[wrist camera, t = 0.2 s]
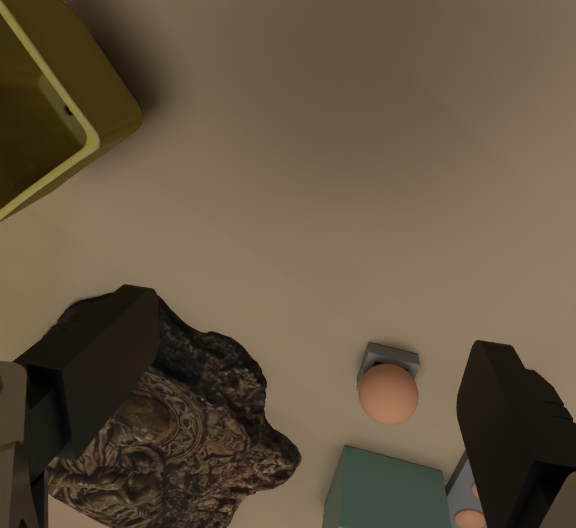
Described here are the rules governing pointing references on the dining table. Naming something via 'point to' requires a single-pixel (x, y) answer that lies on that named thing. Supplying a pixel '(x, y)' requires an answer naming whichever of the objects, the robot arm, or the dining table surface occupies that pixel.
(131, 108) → the flower pot
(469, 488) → the card
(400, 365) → the frame
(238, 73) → the dining table surface
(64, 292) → the dining table surface
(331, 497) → the teal open box
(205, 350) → the stone relief
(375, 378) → the ball
